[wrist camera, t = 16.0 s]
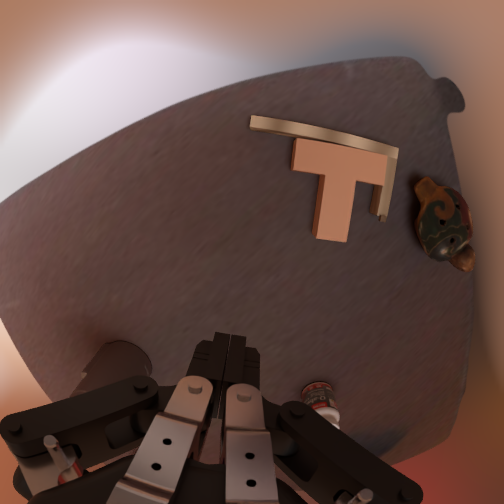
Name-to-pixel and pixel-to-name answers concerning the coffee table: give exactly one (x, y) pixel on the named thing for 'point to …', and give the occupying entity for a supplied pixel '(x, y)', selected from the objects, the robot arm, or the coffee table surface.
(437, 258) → the decorative turtle
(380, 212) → the maple L-fence
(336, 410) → the pill bottle
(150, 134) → the coffee table surface
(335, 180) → the T-block
